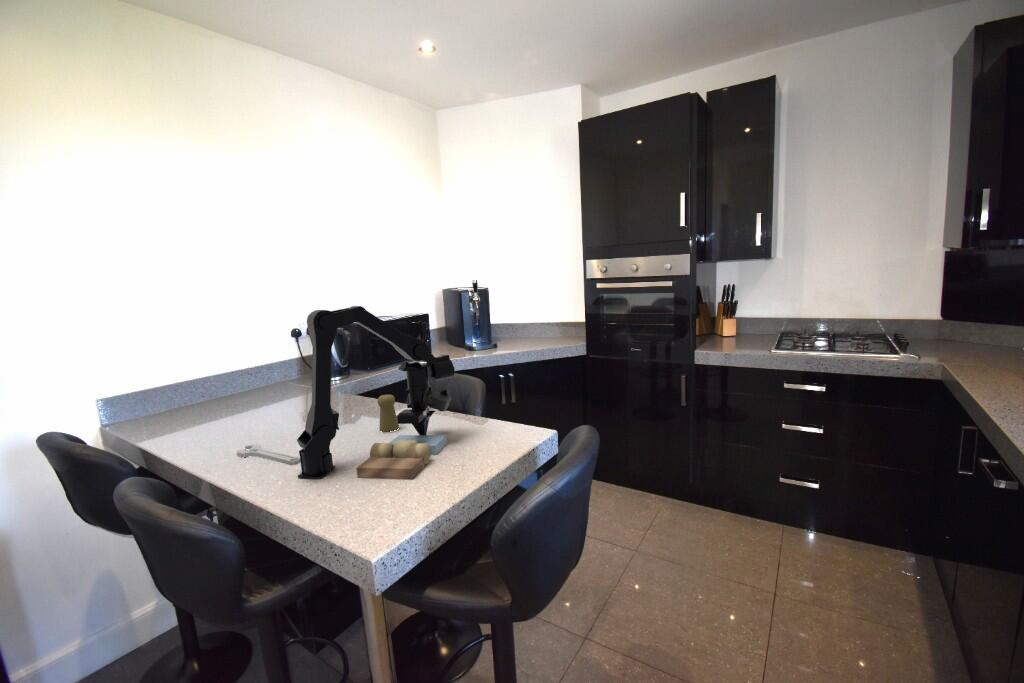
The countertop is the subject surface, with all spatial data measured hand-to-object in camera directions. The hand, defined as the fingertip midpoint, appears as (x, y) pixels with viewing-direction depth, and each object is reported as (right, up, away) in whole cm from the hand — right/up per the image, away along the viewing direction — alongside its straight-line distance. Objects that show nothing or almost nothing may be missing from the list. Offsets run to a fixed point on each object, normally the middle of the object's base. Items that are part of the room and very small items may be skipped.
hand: (423, 438), depth 128 cm
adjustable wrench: (-42, -5, -3) cm, 43 cm away
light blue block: (-1, -2, -7) cm, 8 cm away
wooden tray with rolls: (-3, -4, -17) cm, 18 cm away
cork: (-13, 0, +14) cm, 19 cm away
